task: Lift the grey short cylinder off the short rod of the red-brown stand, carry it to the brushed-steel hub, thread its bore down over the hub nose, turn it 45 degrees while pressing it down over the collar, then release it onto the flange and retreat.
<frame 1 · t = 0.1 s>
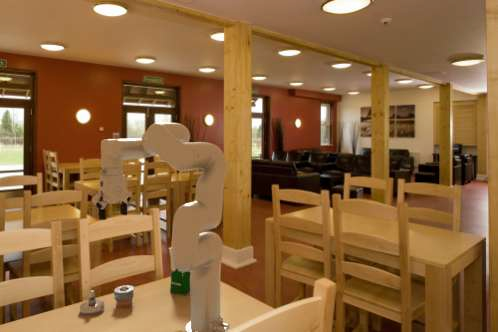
hand: (113, 216, 141), 31 cm above the table, fingers open, 9 cm apart
hub: (92, 310, 132), on the table
milk carton: (182, 291, 149), on the table
stand: (124, 304, 136), on the table
grey short cylinder: (124, 296, 136), point 3 cm above the table, touching stand
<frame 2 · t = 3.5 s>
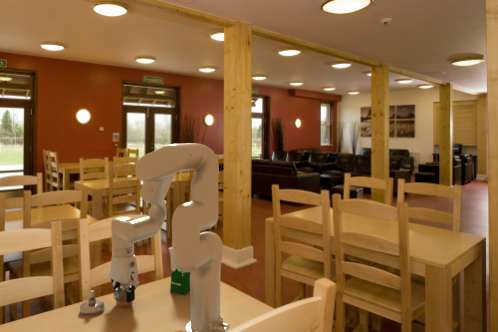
hand: (124, 298, 136), 2 cm above the table, fingers closed on grey short cylinder, 6 cm apart
grey short cylinder: (124, 296, 136), point 3 cm above the table, touching gripper, stand
everything else where it was.
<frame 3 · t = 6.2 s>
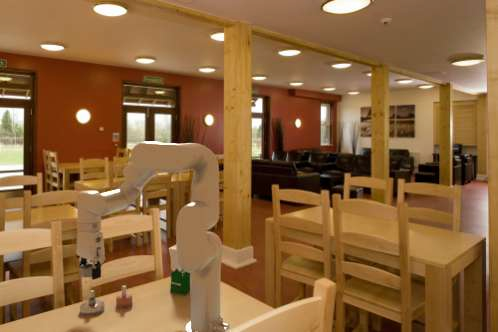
hand: (90, 275, 131), 13 cm above the table, fingers closed on grey short cylinder, 6 cm apart
grey short cylinder: (90, 273, 131), point 13 cm above the table, touching gripper
everything else where it was.
when the fingers open (3 cm above the table, at t = 9.1 s): grey short cylinder drops 1 cm, resting on hub.
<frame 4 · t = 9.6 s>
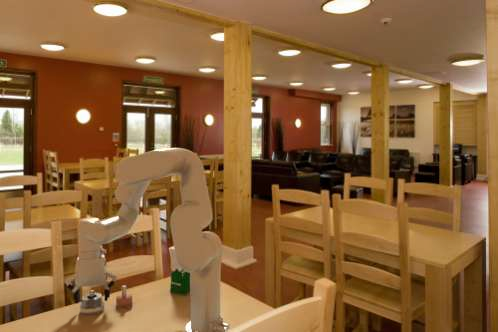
hand: (92, 300, 132), 4 cm above the table, fingers open, 9 cm apart
grey short cylinder: (92, 304, 132), point 2 cm above the table, touching hub
everything else where it was.
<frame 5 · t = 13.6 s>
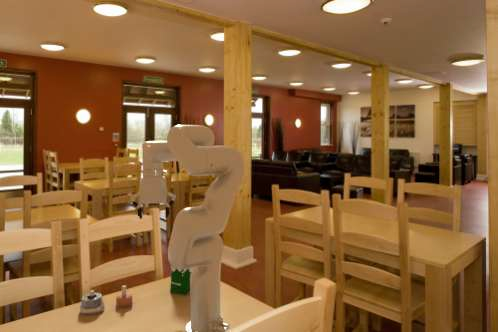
hand: (153, 217, 143), 30 cm above the table, fingers open, 9 cm apart
nothing on the table moved.
at the end: grey short cylinder 0.1 cm off-centre on the hub, point 2.0 cm above the hub's base; grey short cylinder tilted 0°; the gripper is holding nothing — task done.
